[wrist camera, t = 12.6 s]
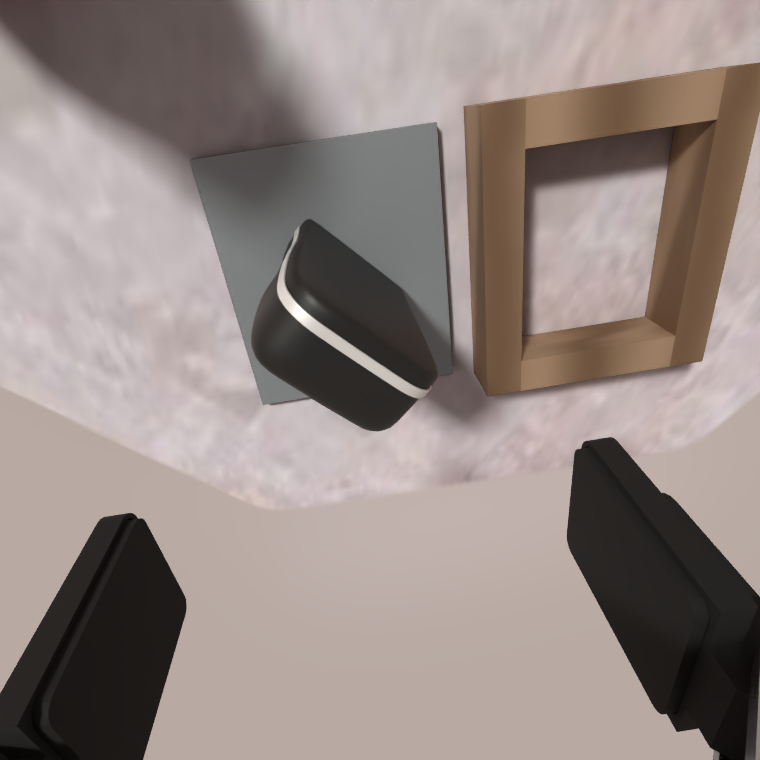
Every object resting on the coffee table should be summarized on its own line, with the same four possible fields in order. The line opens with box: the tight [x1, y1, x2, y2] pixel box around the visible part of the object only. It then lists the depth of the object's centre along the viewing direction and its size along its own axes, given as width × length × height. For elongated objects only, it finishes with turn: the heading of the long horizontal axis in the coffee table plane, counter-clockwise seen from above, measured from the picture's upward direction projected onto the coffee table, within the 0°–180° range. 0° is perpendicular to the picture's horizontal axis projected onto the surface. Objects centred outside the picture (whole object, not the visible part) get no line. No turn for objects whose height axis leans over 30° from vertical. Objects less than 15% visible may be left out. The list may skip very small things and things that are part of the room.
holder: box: [464, 63, 760, 396], centre depth 26 cm, size 13×15×3 cm
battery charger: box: [251, 219, 438, 431], centre depth 21 cm, size 7×4×11 cm, turn 51°
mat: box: [190, 122, 453, 405], centre depth 27 cm, size 12×14×1 cm
